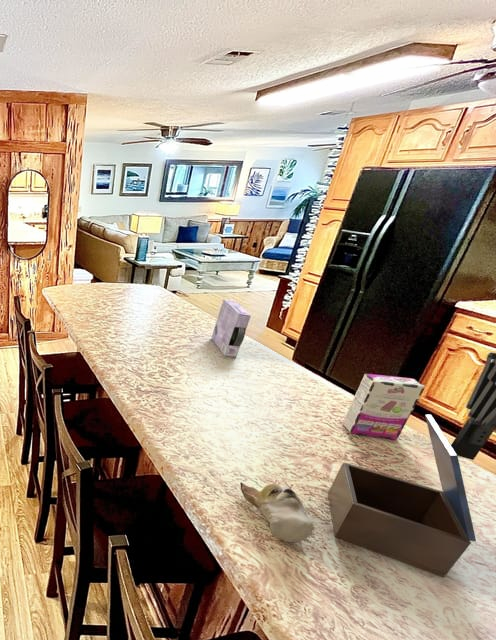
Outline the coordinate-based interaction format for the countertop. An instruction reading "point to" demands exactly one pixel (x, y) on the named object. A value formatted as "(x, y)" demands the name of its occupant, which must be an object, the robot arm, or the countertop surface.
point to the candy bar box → (382, 405)
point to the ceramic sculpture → (280, 511)
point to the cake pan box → (230, 328)
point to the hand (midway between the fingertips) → (460, 454)
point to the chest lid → (450, 476)
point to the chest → (396, 519)
